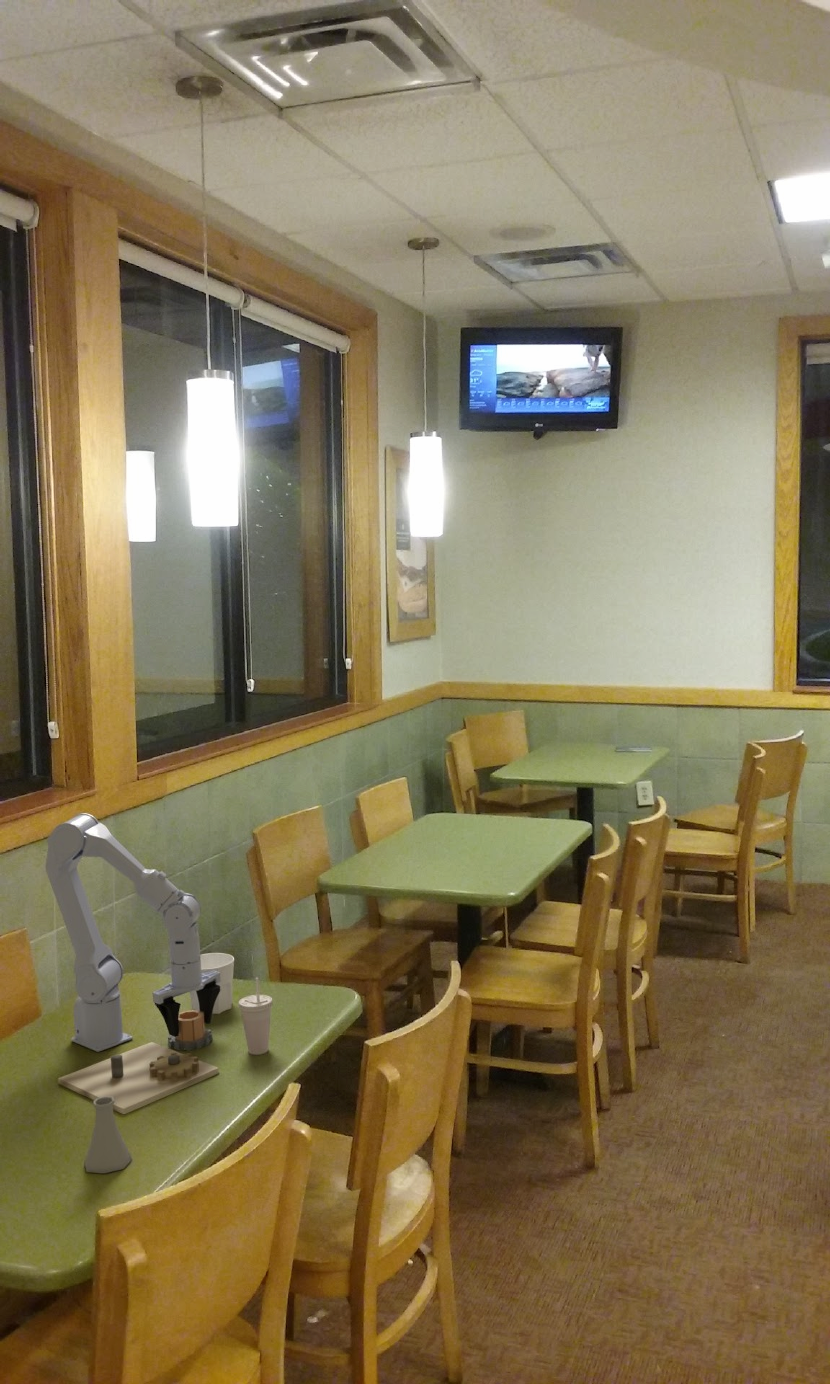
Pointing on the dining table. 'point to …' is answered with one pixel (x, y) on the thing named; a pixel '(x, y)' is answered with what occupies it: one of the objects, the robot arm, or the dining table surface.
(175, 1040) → the planet gear
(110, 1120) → the flask
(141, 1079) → the carrier
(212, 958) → the cup
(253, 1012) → the smoothie
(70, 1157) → the dining table surface
